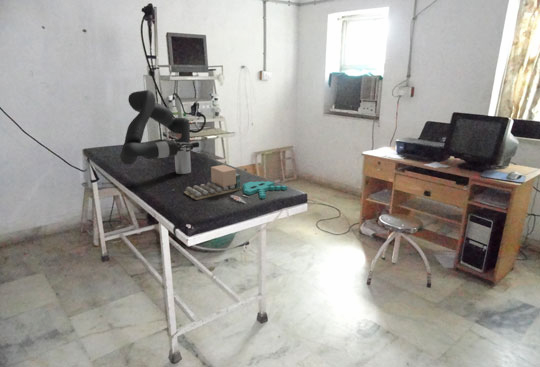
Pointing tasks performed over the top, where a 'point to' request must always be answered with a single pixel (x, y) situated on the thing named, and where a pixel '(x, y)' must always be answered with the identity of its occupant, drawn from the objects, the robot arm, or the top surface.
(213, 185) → the roller track
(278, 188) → the alien figure
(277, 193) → the top surface
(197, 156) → the top surface
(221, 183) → the tan cardboard box
